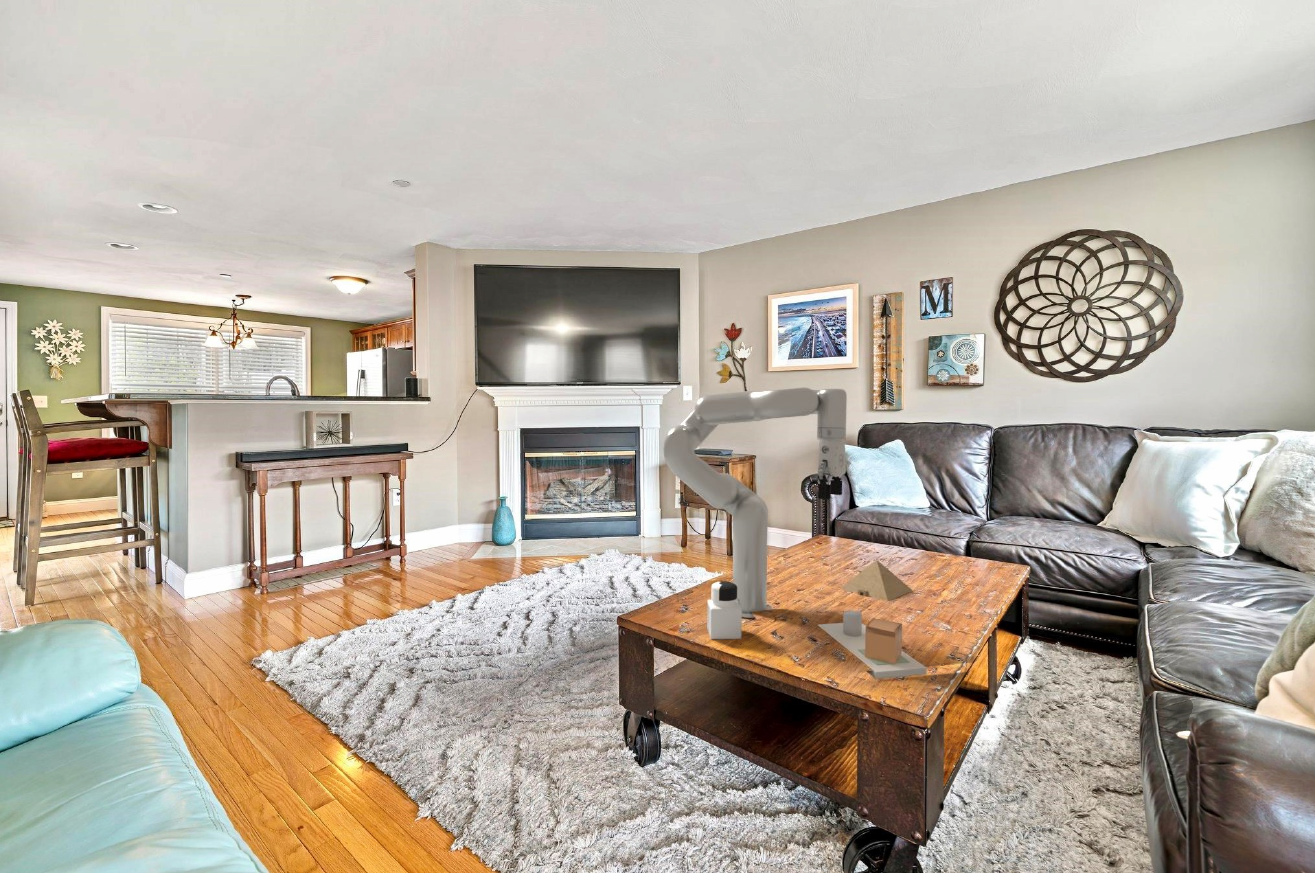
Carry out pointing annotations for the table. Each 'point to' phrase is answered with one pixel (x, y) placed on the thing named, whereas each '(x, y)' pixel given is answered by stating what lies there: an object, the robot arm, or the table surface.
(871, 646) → the brown block
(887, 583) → the model pyramid
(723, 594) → the container
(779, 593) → the table surface
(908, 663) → the post board
